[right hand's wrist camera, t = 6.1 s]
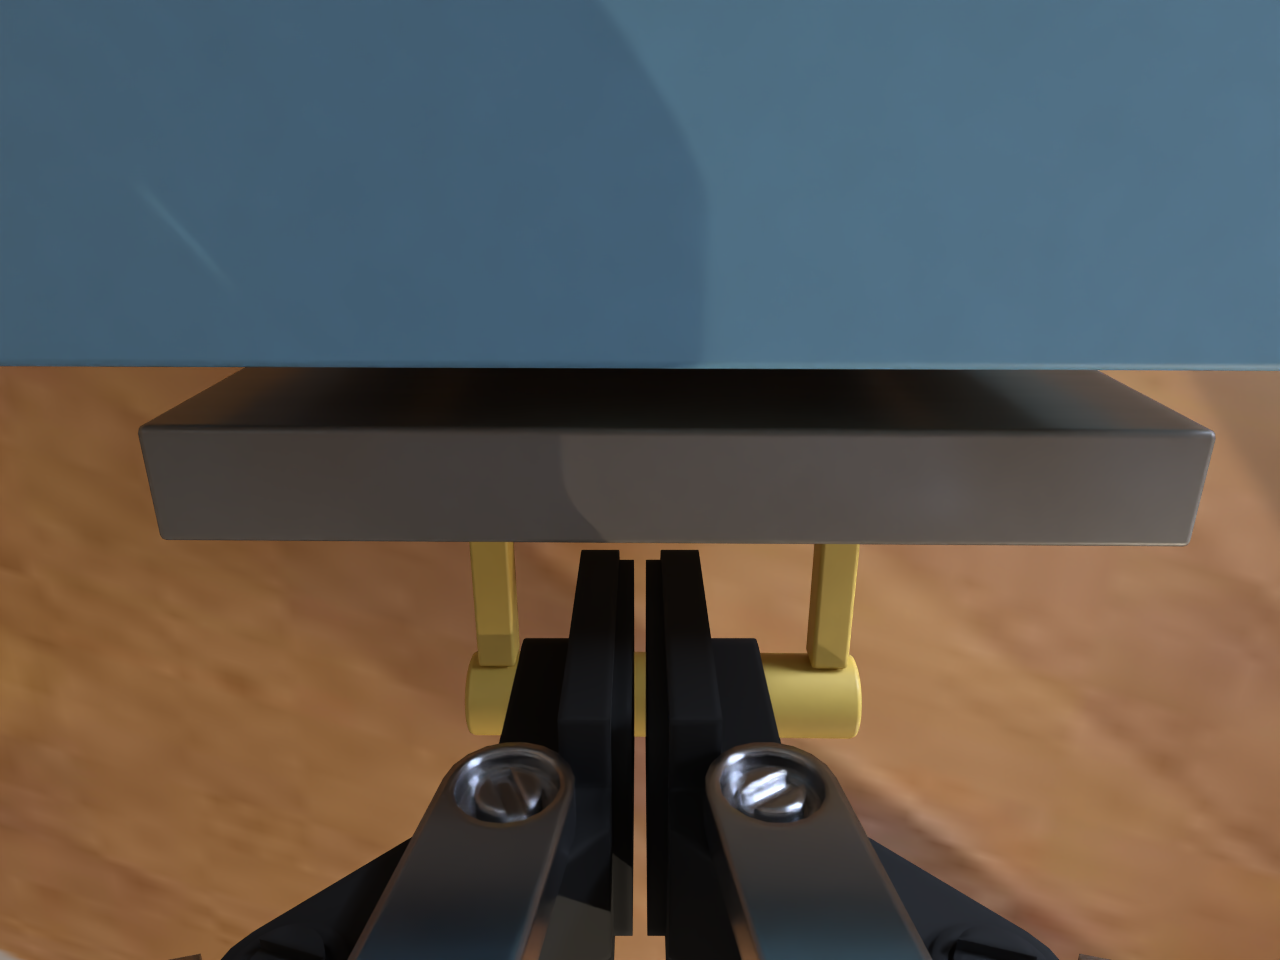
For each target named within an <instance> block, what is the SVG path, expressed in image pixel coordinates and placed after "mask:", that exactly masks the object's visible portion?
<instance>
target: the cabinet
mask: <svg viewBox="0 0 1280 960" xmlns="http://www.w3.org/2000/svg"><path fill="white" fill-rule="evenodd" d="M0 366H92V367H376V368H661V369H946V370H1230V371H1280V0H0Z"/></svg>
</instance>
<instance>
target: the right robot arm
mask: <svg viewBox="0 0 1280 960" xmlns="http://www.w3.org/2000/svg"><path fill="white" fill-rule="evenodd" d="M633 836H634V560H620V557H619V550H582V551H581V557H580V564H579V571H578V578H577V585H576V592H575V599H574V606H573V613H572V620H571V628H570V635H569V638H525V639H524V640H523V643H522V647H521V651H520V656H519V660H518V664H517V668H516V673H515V677H514V681H513V686H512V690H511V694H510V699H509V703H508V707H507V712H506V716H505V720H504V725H503V729H502V733H501V737H500V742H499V744H496V745H491V746H486V747H484V748H482V749H479V750H477V751H475V752H472V753H470V754H468V755H466V756H465V757H464V758H462V759H461V760H460V761H458V762H457V763H456V764H454V765H453V766H452V768H451V769H450V770H449V771H448V773H447V774H446V775H445V777H444V778H443V780H442V782H441V784H440V785H439V787H438V789H437V791H436V793H435V795H434V797H433V799H432V801H431V802H430V804H429V806H428V808H427V810H426V812H425V814H424V816H423V818H422V820H421V821H420V823H419V825H418V827H417V829H416V831H415V833H414V835H413V837H411V838H410V839H408V840H406V841H405V842H403V843H401V844H400V845H398V846H396V847H394V848H393V849H391V850H389V851H388V852H386V853H384V854H383V855H381V856H379V857H378V858H376V859H374V860H373V861H371V862H369V863H368V864H366V865H364V866H363V867H361V868H359V869H358V870H356V871H354V872H353V873H351V874H349V875H348V876H346V877H344V878H343V879H341V880H339V881H338V882H336V883H334V884H332V885H331V886H329V887H327V888H326V889H324V890H322V891H321V892H319V893H317V894H316V895H314V896H312V897H311V898H309V899H307V900H306V901H304V902H302V903H301V904H299V905H297V906H296V907H294V908H292V909H291V910H289V911H287V912H286V913H284V914H282V915H281V916H279V917H277V918H276V919H274V920H272V921H271V922H269V923H267V924H265V925H264V926H262V927H260V928H259V929H257V930H255V931H254V932H252V933H251V934H250V935H248V936H247V937H245V938H244V939H243V940H241V941H240V942H239V943H237V944H236V945H235V946H233V947H232V948H231V949H230V950H229V951H228V952H227V953H226V954H225V956H224V957H223V958H222V959H221V960H614V947H615V936H632V935H633ZM646 836H647V935H648V936H665V947H666V960H1059V959H1058V958H1057V957H1056V956H1055V954H1054V953H1053V952H1052V951H1051V950H1050V949H1049V948H1048V947H1047V946H1045V945H1044V944H1043V943H1041V942H1040V941H1039V940H1037V939H1036V938H1035V937H1033V936H1032V935H1030V934H1029V933H1028V932H1026V931H1025V930H1023V929H1021V928H1020V927H1018V926H1016V925H1015V924H1013V923H1011V922H1009V921H1008V920H1006V919H1004V918H1003V917H1001V916H999V915H998V914H996V913H994V912H993V911H991V910H989V909H988V908H986V907H984V906H983V905H981V904H979V903H978V902H976V901H974V900H973V899H971V898H969V897H968V896H966V895H964V894H963V893H961V892H959V891H958V890H956V889H954V888H953V887H951V886H949V885H948V884H946V883H944V882H942V881H941V880H939V879H937V878H936V877H934V876H932V875H931V874H929V873H927V872H926V871H924V870H922V869H921V868H919V867H917V866H916V865H914V864H912V863H911V862H909V861H907V860H906V859H904V858H902V857H901V856H899V855H897V854H896V853H894V852H892V851H891V850H889V849H887V848H886V847H884V846H882V845H880V844H879V843H877V842H875V841H874V840H872V839H870V838H869V837H867V835H866V833H865V831H864V829H863V827H862V825H861V823H860V821H859V820H858V818H857V816H856V814H855V812H854V810H853V808H852V806H851V804H850V802H849V801H848V799H847V797H846V795H845V793H844V791H843V789H842V787H841V785H840V784H839V782H838V780H837V778H836V777H835V775H834V774H833V773H832V771H831V770H830V769H829V768H828V766H827V765H826V764H824V763H823V762H822V761H820V760H819V759H818V758H816V757H815V756H814V755H812V754H810V753H808V752H805V751H803V750H801V749H798V748H796V747H794V746H789V745H784V744H781V742H780V737H779V733H778V729H777V725H776V720H775V716H774V712H773V707H772V703H771V699H770V694H769V690H768V686H767V681H766V677H765V673H764V669H763V664H762V660H761V656H760V651H759V647H758V643H757V640H756V639H755V638H711V635H710V628H709V621H708V613H707V606H706V599H705V592H704V585H703V578H702V571H701V564H700V557H699V551H698V550H661V557H660V560H646ZM170 960H202V958H201V954H196V955H191V956H186V957H181V958H176V959H170ZM1078 960H1110V959H1104V958H1099V957H1094V956H1089V955H1084V954H1079V958H1078Z"/></svg>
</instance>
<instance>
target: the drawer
mask: <svg viewBox="0 0 1280 960" xmlns="http://www.w3.org/2000/svg"><path fill="white" fill-rule="evenodd" d="M138 435H139V440H140V444H141V449H142V453H143V458H144V463H145V467H146V472H147V476H148V481H149V486H150V490H151V495H152V499H153V504H154V509H155V513H156V518H157V522H158V527H159V532H160V535H161V537H162V538H163V539H166V540H277V541H433V542H469V544H470V557H471V570H472V583H473V596H474V609H475V622H476V634H477V647H478V651H477V652H475V653H474V654H473V656H472V658H471V661H470V664H469V667H468V672H467V678H466V688H465V715H466V722H467V726H468V729H469V731H470V733H472V734H474V735H501V733H502V729H503V725H504V720H505V716H506V712H507V707H508V703H509V699H510V694H511V690H512V686H513V681H514V677H515V673H516V668H517V664H518V660H519V656H520V651H519V647H520V644H519V626H518V609H517V592H516V574H515V557H514V542H589V543H745V544H814V557H813V570H812V582H811V595H810V608H809V620H808V633H807V646H806V649H807V653H760V656H761V660H762V664H763V669H764V673H765V677H766V681H767V686H768V690H769V694H770V699H771V703H772V707H773V712H774V716H775V720H776V725H777V729H778V733H779V737H780V738H853V737H855V736H856V735H857V733H858V729H859V726H860V721H861V709H862V698H861V685H860V678H859V673H858V669H857V666H856V663H855V661H854V659H853V657H852V656H851V655H849V647H850V637H851V627H852V617H853V607H854V597H855V587H856V577H857V567H858V557H859V547H860V544H901V545H1057V546H1186V545H1188V543H1189V542H1190V539H1191V535H1192V531H1193V527H1194V523H1195V519H1196V515H1197V511H1198V507H1199V503H1200V499H1201V495H1202V491H1203V487H1204V483H1205V479H1206V475H1207V471H1208V467H1209V463H1210V459H1211V454H1212V450H1213V446H1214V442H1215V433H1214V431H1212V430H1210V429H1208V428H1206V427H1204V426H1202V425H1200V424H1199V423H1197V422H1195V421H1193V420H1191V419H1189V418H1187V417H1185V416H1183V415H1181V414H1180V413H1178V412H1176V411H1174V410H1172V409H1170V408H1168V407H1166V406H1164V405H1162V404H1161V403H1159V402H1157V401H1155V400H1153V399H1151V398H1149V397H1147V396H1145V395H1143V394H1142V393H1140V392H1138V391H1136V390H1134V389H1132V388H1130V387H1128V386H1126V385H1124V384H1123V383H1121V382H1119V381H1117V380H1115V379H1113V378H1111V377H1109V376H1107V375H1105V374H1104V373H1102V372H1100V371H1098V370H946V369H661V368H376V367H245V368H243V369H241V370H240V371H238V372H236V373H234V374H233V375H231V376H229V377H227V378H225V379H224V380H222V381H220V382H218V383H217V384H215V385H213V386H211V387H209V388H208V389H206V390H204V391H202V392H201V393H199V394H197V395H195V396H193V397H192V398H190V399H188V400H186V401H185V402H183V403H181V404H179V405H177V406H176V407H174V408H172V409H170V410H169V411H167V412H165V413H163V414H161V415H160V416H158V417H156V418H154V419H153V420H151V421H149V422H147V423H145V424H144V425H142V426H140V428H139V431H138ZM634 736H644V737H646V652H634Z"/></svg>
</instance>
